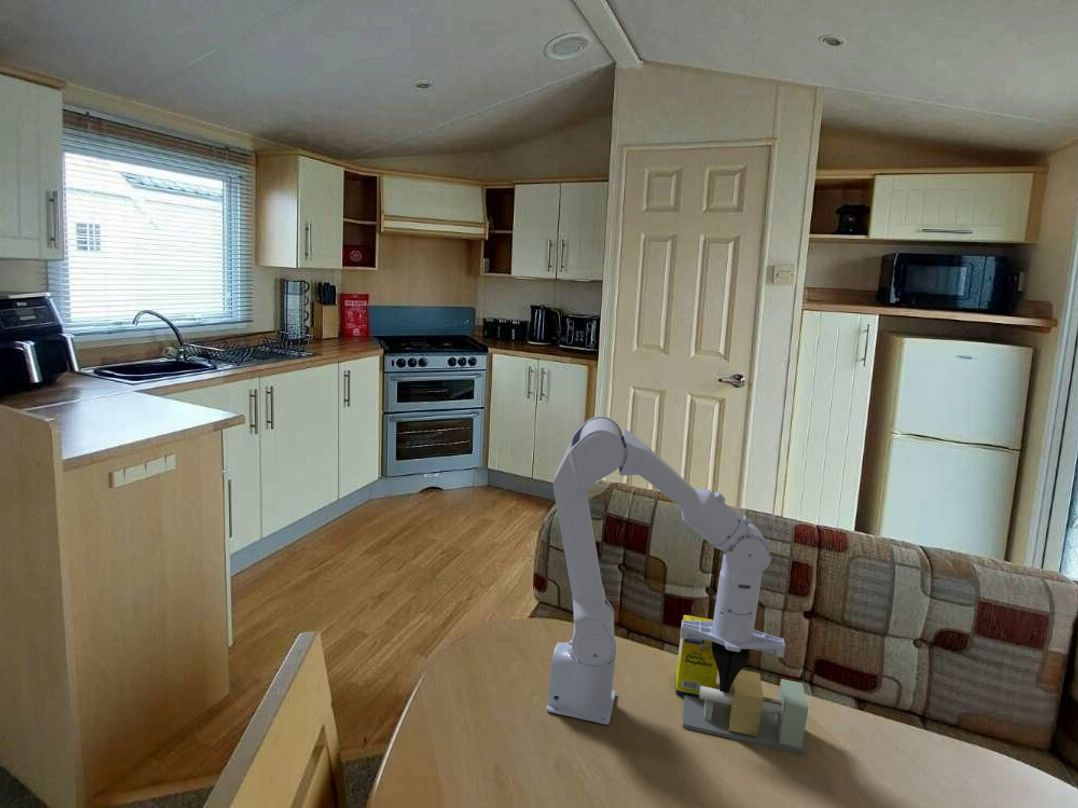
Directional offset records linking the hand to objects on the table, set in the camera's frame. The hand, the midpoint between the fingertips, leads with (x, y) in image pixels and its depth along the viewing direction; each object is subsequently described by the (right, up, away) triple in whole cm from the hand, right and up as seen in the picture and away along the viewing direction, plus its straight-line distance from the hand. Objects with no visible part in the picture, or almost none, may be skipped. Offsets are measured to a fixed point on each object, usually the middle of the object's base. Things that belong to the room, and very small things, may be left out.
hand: (724, 688), depth 96 cm
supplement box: (-2, -4, +9) cm, 10 cm away
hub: (+3, -6, 0) cm, 6 cm away
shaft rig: (+3, -6, 0) cm, 6 cm away
